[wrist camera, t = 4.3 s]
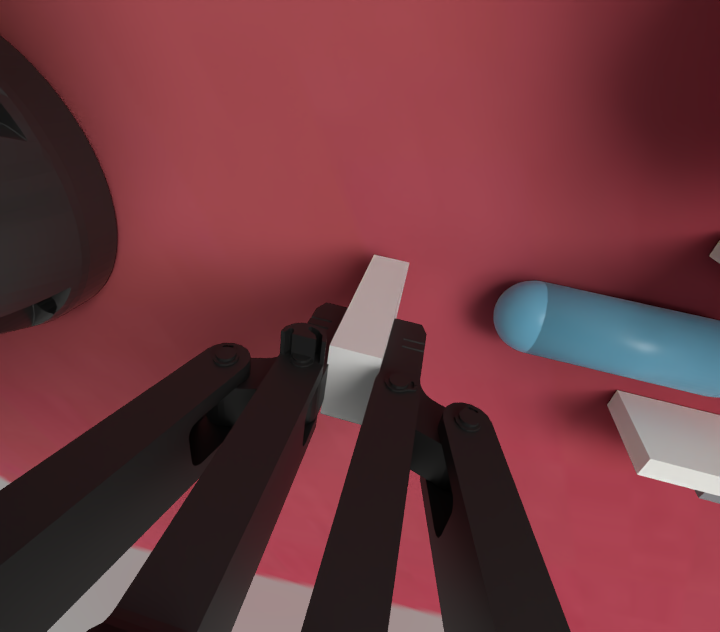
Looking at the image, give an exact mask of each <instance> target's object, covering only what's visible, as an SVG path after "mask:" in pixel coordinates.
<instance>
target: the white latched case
mask: <svg viewBox="0 0 720 632" xmlns="http://www.w3.org/2000/svg"><path fill="white" fill-rule="evenodd" d="M709 256H710V257H711V258H712V259H714V260H715V261H716V262H718V263H719V264H720V240H719V242H718V243H717V245H716V246H715V248H714V249H713V251H712V252H711V254H710V255H709ZM607 406H608V408H609V411H610V413H611V415H612V418H613V420H614V422H615V425H616V427H617V429H618V432H619V434H620V436H621V438H622V441H623V443H624V445H625V448H626V450H627V452H628V455H629V457H630V459H631V461H632V464H633V466H634V468H635V471H636V473H637V475H641V476H645V477H649V478H653V479H656V480H660V481H664V482H668V483H672V484H675V485H679V486H683V487H687V488H690V489H694V490H695V492H696V494H697V496H698V497H699V498H701V499H705V500H708V501H712V502H716V503H720V415H717V414H713V413H709V412H705V411H701V410H696V409H692V408H688V407H684V406H680V405H676V404H672V403H668V402H664V401H660V400H655V399H651V398H647V397H643V396H639V395H635V394H631V393H627V392H623V391H619V390H617V391H616V393H615V394H614V395H613V397H612V398H611V400H610V401H609V403H608V404H607Z"/></svg>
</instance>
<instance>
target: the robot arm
mask: <svg viewBox="0 0 720 632" xmlns="http://www.w3.org/2000/svg"><path fill="white" fill-rule="evenodd" d="M116 250H117V227H116V218H115V212H114V207H113V203H112V199H111V195H110V192H109V189H108V185H107V183H106V180H105V177H104V174H103V172H102V169H101V167H100V165H99V162H98V160H97V158H96V156H95V154H94V152H93V150H92V148H91V146H90V144H89V142H88V140H87V138H86V137H85V135H84V133H83V131H82V130H81V128H80V126H79V125H78V123H77V121H76V120H75V118H74V117H73V115H72V114H71V112H70V111H69V109H68V108H67V106H66V105H65V104H64V102H63V101H62V100H61V98H60V97H59V96H58V94H57V93H56V92H55V91H54V89H53V88H52V87H51V86H50V84H49V83H48V82H47V81H46V80H45V79H44V77H43V76H42V75H41V74H40V73H39V72H38V71H37V70H36V68H35V67H34V66H33V65H32V64H31V63H30V62H29V61H28V60H27V59H26V58H25V57H24V56H23V55H22V54H21V53H20V52H19V51H17V50H16V49H15V48H14V47H13V46H12V45H11V44H10V43H9V42H7V41H6V40H5V39H4V38H3V37H1V36H0V334H3V333H7V332H11V331H15V330H19V329H23V328H27V327H32V326H36V325H39V324H43V323H46V322H49V321H51V320H54V319H56V318H58V317H60V316H62V315H64V314H65V313H67V312H69V311H70V310H72V309H74V308H75V307H77V306H78V305H80V304H82V303H83V302H85V301H87V300H88V299H90V298H91V297H93V296H94V295H95V294H96V293H97V292H99V291H100V289H101V288H102V287H103V286H104V285H105V283H106V281H107V280H108V278H109V276H110V274H111V271H112V269H113V266H114V262H115V257H116ZM408 267H409V262H404V261H400V260H396V259H391V258H387V257H383V256H378V255H374V256H373V258H372V260H371V262H370V264H369V266H368V268H367V270H366V272H365V274H364V276H363V278H362V280H361V282H360V284H359V286H358V288H357V290H356V292H355V294H354V297H353V299H352V301H351V303H350V305H349V307H348V308H347V307H343V306H339V305H334V304H330V303H325V304H323V305H321V306H320V307H318V308H317V309H316V310H315V312H314V313H313V315H312V317H311V318H310V320H309V321H308V323H295V324H291V325H288V326H286V327H285V328H284V329H283V330H281V344H280V354H279V356H278V357H274V358H250V353H249V351H248V350H247V349H246V348H244V347H243V346H241V345H238V344H235V343H222V344H217V345H214V346H212V347H210V348H208V349H206V350H205V351H204V352H202V353H201V354H199V355H198V356H196V357H195V358H193V359H192V360H190V361H189V362H187V363H186V364H185V365H183V366H182V367H180V368H179V369H177V370H176V371H174V372H173V373H171V374H170V375H168V376H167V377H166V378H164V379H163V380H161V381H160V382H158V383H157V384H155V385H154V386H152V387H151V388H149V389H148V390H146V391H145V392H144V393H142V394H141V395H139V396H138V397H136V398H135V399H133V400H132V401H130V402H129V403H127V404H126V405H125V406H123V407H122V408H120V409H119V410H117V411H116V412H114V413H113V414H111V415H110V416H108V417H107V418H106V419H104V420H103V421H101V422H100V423H98V424H97V425H95V426H94V427H92V428H91V429H89V430H88V431H86V432H85V433H84V434H82V435H81V436H79V437H78V438H76V439H75V440H73V441H72V442H70V443H69V444H67V445H66V446H65V447H63V448H62V449H60V450H59V451H57V452H56V453H54V454H53V455H51V456H50V457H48V458H47V459H46V460H44V461H43V462H41V463H40V464H38V465H37V466H35V467H34V468H32V469H31V470H29V471H28V472H27V473H25V474H24V475H22V476H21V477H19V478H18V479H16V480H15V481H13V482H12V483H10V484H9V485H7V486H6V487H5V488H3V489H2V490H0V632H47V630H49V629H50V628H51V627H52V626H53V625H54V624H55V623H56V622H57V620H59V618H61V617H62V616H63V615H64V613H66V611H68V609H70V607H71V606H72V605H73V604H74V603H75V602H76V601H77V600H78V599H79V598H80V597H81V596H82V595H83V594H84V593H85V592H86V591H87V590H88V589H89V588H90V587H91V586H92V585H93V584H94V583H95V582H96V581H97V580H98V579H99V578H100V577H101V576H102V575H103V574H104V573H105V572H106V571H107V570H108V569H109V568H110V567H111V566H112V565H113V564H114V563H115V562H116V561H117V560H118V559H119V558H120V557H121V556H122V555H123V554H124V553H125V552H126V551H127V550H128V549H129V548H130V547H131V546H132V545H133V544H134V543H135V542H136V541H137V540H138V539H139V538H140V537H141V536H142V535H143V534H144V533H145V532H146V531H147V530H148V529H149V528H150V527H151V526H152V525H153V524H154V523H155V522H156V521H157V520H158V519H159V518H160V517H161V516H162V515H163V514H164V513H165V512H166V511H167V510H168V509H169V508H170V507H171V506H172V505H173V504H174V503H175V502H176V501H177V500H178V499H179V498H180V497H181V496H182V495H183V494H184V493H185V492H186V491H187V490H188V489H189V488H190V487H191V486H192V485H193V484H194V483H195V482H196V481H197V480H198V479H199V480H198V481H197V483H196V484H195V486H194V487H193V489H192V491H191V492H190V494H189V495H188V497H187V498H186V500H185V501H184V503H183V504H182V506H181V508H180V509H179V511H178V512H177V514H176V515H175V517H174V518H173V520H172V521H171V523H170V525H169V526H168V528H167V529H166V531H165V532H164V534H163V535H162V537H161V538H160V540H159V542H158V543H157V545H156V546H155V548H154V549H153V551H152V552H151V554H150V556H149V557H148V559H147V560H146V562H145V563H144V565H143V566H142V568H141V569H140V571H139V573H138V574H137V576H136V577H135V579H134V580H133V582H132V583H131V585H130V586H129V588H128V589H127V591H126V593H125V594H124V596H123V597H122V599H121V600H120V602H119V603H118V605H117V606H116V608H115V609H114V611H113V612H112V613H111V615H110V616H109V617H108V618H107V619H106V620H105V621H104V622H103V623H101V624H99V625H97V626H95V627H93V628H91V629H89V630H88V631H87V632H231V631H232V628H233V626H234V623H235V621H236V619H237V616H238V614H239V611H240V609H241V606H242V604H243V601H244V599H245V597H246V594H247V592H248V589H249V587H250V585H251V582H252V580H253V577H254V575H255V573H256V570H257V568H258V565H259V563H260V560H261V558H262V556H263V553H264V551H265V548H266V546H267V543H268V541H269V539H270V536H271V534H272V531H273V529H274V526H275V524H276V522H277V519H278V517H279V514H280V512H281V510H282V507H283V505H284V502H285V500H286V497H287V495H288V493H289V490H290V488H291V485H292V483H293V480H294V478H295V476H296V473H297V471H298V468H299V466H300V464H301V461H302V459H303V456H304V454H305V451H306V449H307V447H308V444H309V442H310V439H311V437H312V434H313V432H314V430H315V427H316V421H317V414H318V412H319V410H320V407H321V405H322V407H321V414H324V415H328V416H332V417H335V418H339V419H342V420H346V421H350V422H353V423H357V424H361V428H360V432H359V435H358V439H357V442H356V446H355V449H354V452H353V456H352V459H351V463H350V466H349V469H348V473H347V476H346V480H345V483H344V487H343V490H342V493H341V497H340V500H339V504H338V507H337V510H336V514H335V517H334V521H333V524H332V527H331V531H330V534H329V538H328V541H327V545H326V548H325V551H324V555H323V558H322V562H321V565H320V568H319V572H318V575H317V579H316V582H315V586H314V589H313V592H312V596H311V599H310V603H309V606H308V609H307V613H306V616H305V620H304V623H303V627H302V630H301V632H388V625H389V618H390V610H391V603H392V596H393V589H394V582H395V574H396V567H397V560H398V553H399V545H400V538H401V531H402V524H403V516H404V509H405V502H406V495H407V487H408V480H409V473H410V470H412V471H414V472H415V473H417V474H418V475H420V482H421V489H422V495H423V501H424V507H425V514H426V520H427V526H428V533H429V539H430V545H431V551H432V558H433V564H434V570H435V577H436V583H437V589H438V595H439V602H440V608H441V614H442V621H443V627H444V632H570V629H569V626H568V624H567V621H566V618H565V616H564V613H563V610H562V608H561V605H560V602H559V600H558V597H557V594H556V592H555V589H554V586H553V584H552V581H551V578H550V576H549V573H548V571H547V568H546V565H545V563H544V560H543V557H542V555H541V552H540V549H539V547H538V544H537V541H536V539H535V536H534V533H533V531H532V528H531V525H530V523H529V520H528V518H527V515H526V512H525V510H524V507H523V504H522V502H521V499H520V496H519V494H518V491H517V488H516V486H515V483H514V480H513V478H512V475H511V472H510V470H509V467H508V465H507V462H506V459H505V457H504V454H503V451H502V449H501V446H500V443H499V441H498V438H497V435H496V433H495V430H494V427H493V425H492V423H491V421H490V419H489V418H488V416H487V415H486V414H485V413H484V412H483V411H481V410H480V409H479V408H477V407H475V406H473V405H470V404H466V403H452V404H450V405H448V406H447V407H444V406H442V405H440V404H438V403H436V402H435V401H433V400H432V399H430V398H429V397H428V396H427V395H426V394H425V393H424V391H423V390H422V388H421V385H420V376H421V369H422V362H423V355H424V348H425V341H426V333H425V331H424V328H423V326H422V325H420V324H416V323H412V322H408V321H404V320H400V319H396V317H397V313H398V309H399V305H400V301H401V296H402V292H403V288H404V284H405V279H406V275H407V271H408Z"/></svg>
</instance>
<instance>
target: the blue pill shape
mask: <svg viewBox="0 0 720 632" xmlns="http://www.w3.org/2000/svg"><path fill="white" fill-rule="evenodd" d="M493 321H494V326H495V329H496V331H497V333H498V335H499V336H500V338H501V339H502V340H503V341H504V342H505V343H506V344H507V345H508V346H510V347H512V348H513V349H515V350H518V351H521V352H524V353H528V354H532V355H536V356H540V357H545V358H549V359H553V360H557V361H561V362H565V363H569V364H574V365H578V366H582V367H586V368H590V369H594V370H599V371H603V372H607V373H611V374H615V375H619V376H623V377H628V378H632V379H636V380H640V381H644V382H648V383H653V384H657V385H661V386H665V387H669V388H673V389H677V390H682V391H686V392H690V393H694V394H698V395H702V396H708V397H720V320H715V319H711V318H706V317H702V316H697V315H692V314H688V313H683V312H679V311H674V310H670V309H665V308H661V307H656V306H652V305H647V304H643V303H638V302H634V301H629V300H625V299H620V298H616V297H611V296H607V295H602V294H598V293H593V292H588V291H584V290H579V289H575V288H570V287H566V286H561V285H557V284H552V283H548V282H543V281H536V280H534V281H524V282H520V283H517V284H515V285H513V286H511V287H510V288H508V289H507V290H506V291H504V293H503V294H502V295H501V296H500V297H499V299H498V301H497V303H496V305H495V308H494V313H493Z"/></svg>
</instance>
